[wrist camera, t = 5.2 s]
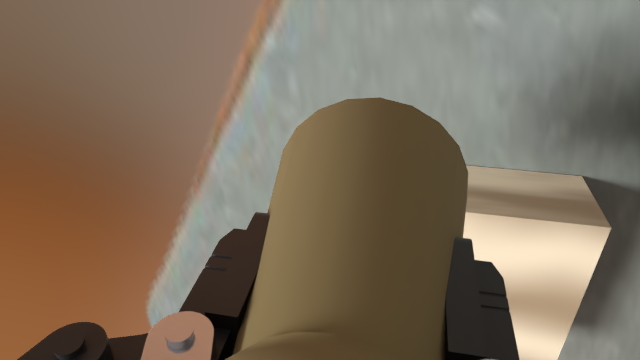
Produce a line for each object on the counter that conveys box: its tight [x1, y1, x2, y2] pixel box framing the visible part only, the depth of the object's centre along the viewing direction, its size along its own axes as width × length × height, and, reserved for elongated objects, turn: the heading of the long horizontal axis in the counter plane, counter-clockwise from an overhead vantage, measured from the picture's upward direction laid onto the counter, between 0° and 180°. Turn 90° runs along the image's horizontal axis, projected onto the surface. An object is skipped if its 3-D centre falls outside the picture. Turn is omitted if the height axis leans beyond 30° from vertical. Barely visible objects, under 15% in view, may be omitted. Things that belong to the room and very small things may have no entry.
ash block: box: [463, 165, 611, 360], centre depth 29 cm, size 11×11×5 cm
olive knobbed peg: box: [225, 98, 468, 360], centre depth 11 cm, size 6×6×11 cm
